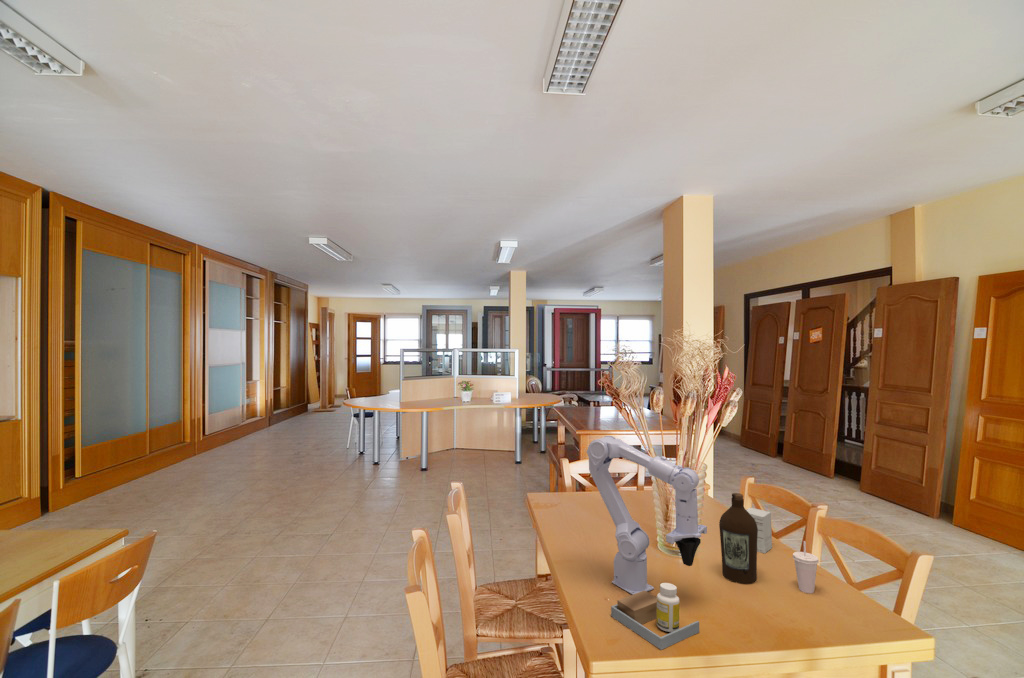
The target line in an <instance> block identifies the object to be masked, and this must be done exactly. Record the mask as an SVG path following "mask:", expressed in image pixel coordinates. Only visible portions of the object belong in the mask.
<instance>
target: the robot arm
mask: <svg viewBox="0 0 1024 678" xmlns="http://www.w3.org/2000/svg"><path fill="white" fill-rule="evenodd" d="M586 454H587V456H588V470H589V473H590V475H591V477H592V480H593V482H594V484H595V486H596V488H597V491H598V492H599V494H600V497H601V498H602V501H603V503H604V505H605V507H606V509H607V511H608V513H609V515H610V517H611V519H612V521H613V523H614V525H615V538H616V539H615V540H616V542H617V549H618V552H616V554H615V556H614V558H613V580H612V581H611V584H613V585H615V586H617V587H619V588H620V589H622V590H623V591H625V592H627V593H629V594H630V595H633V594H636V593H639V592H642V591H644V590H645V591H647V592H649V591H652V590H654V589H655V587H654V586H652V585H651V584H649V583H648V555H647V551H646V550H647V549H648V548H649V546H650V538H649V535H648V534H647V532H646V531H644V529H643V528H642V527H641V526H640V523H639V522H638V521H635V520H634V519H633V517H632V516H631V514H630V512H629V508H628V507H627V505H626V503H625V501H624V499H623V498H622V495H621V493H620V491H619V489H618V487H617V485H616V483H615V481H614V479H613V477H612V475H611V472H610V471H609V468H610V466H611V463H612V460H613V459H615V458H624V459H626V460H628V461H631V462H633V463H635V464H637V465H639V466H642V467H644V468H646V469H647V472H648V473H649V474H650V475H651V476H653V477H654V478H657V479H659V480H661V481H663V483H667V485H671V486H672V488H673V489H674V491H675V492H674V493H675V497H674V499H675V500H674V501H675V504H674V505H675V528H674V529H673V530H671V531H670V532H669V533H666V534H665V539H666V540H665V542H666V543H668V544H671V545H673V544H676V546H677V548H678V550H679V552H680V555H681V559H682V564H683V565H685V566H687V567H690V566H693V564H694V560H695V555H696V553H697V551H698V548H699V546H700V545H701V540H702V539H700V538H701V537H702V534H703V535H705V534H708V526H707V525H704V524H699V520H698V519H699V518H698V517H699V516H698V511H699V510H698V509H699V508H698V497H697V496H698V495H697V493H698V492H697V490H698V489H697V486H698V485H699V483H700V477H699V475H698V473H697V471H695V470H694V469H692V468H691V467H683V465H681V464H678V465H677V464H676V463H674V462H671V461H670V460H667V457H666V456H664V455H661V456H659V455H656V456H654V457H652V456H650V455H648V454H646V453H644V452H643V451H641V450H639V449H637V448H635V447H633V446H632V445H630V444H628V443H627V442H624V440H622V439H621V438H616V437H614V436H613V435H605V436H604V437H601V438H596V439H593V440H591V442H589V445H588V447H587V449H586Z"/></svg>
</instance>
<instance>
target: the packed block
mask: <svg viewBox="0 0 1024 678" xmlns="http://www.w3.org/2000/svg"><path fill="white" fill-rule="evenodd" d="M617 609H618V610H620V611H621V612H623V613H624V614H626V615H627V616H629V617H631V618H632V619H634V620H635V621H637V622H638V623H640V624H641V625H643V624H646V623H649V622H651V621H654V620H656V617H657V595H654V594H652V593H650V592H649V591H645V590H644V591H642V592H639V593H636V594H633V595H632V594H630V595H628V596H626V597H623V598H620V599H617Z"/></svg>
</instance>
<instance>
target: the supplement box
mask: <svg viewBox="0 0 1024 678" xmlns="http://www.w3.org/2000/svg"><path fill="white" fill-rule="evenodd" d="M746 510H747V512H748V513H749V514H750V515H751V516H752V517H753V518H754V520H755V521H756V524H757V528H758V536H757V553H761V554H766V553H767V552H769V551H770V550H771V549H773V537H772V536H773V534H772V512H771V511H767V510H763V509H759V508H755V507H749V508H747V509H746Z"/></svg>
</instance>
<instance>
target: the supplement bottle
mask: <svg viewBox="0 0 1024 678" xmlns="http://www.w3.org/2000/svg"><path fill="white" fill-rule="evenodd" d="M659 591H660V592H658V593H657V595H656V597H657V617H656V619H655V620H656V621H655V622H656V626H657V627H658V628H659V629H660V630H662V631H665V632H669V633H671V632H673V631H676V630H678V629H680V597H679V596H678V595H677V593H678V588H677V586H676V585H674V584H673V583H670V582H662V583H660V584H659Z"/></svg>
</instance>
